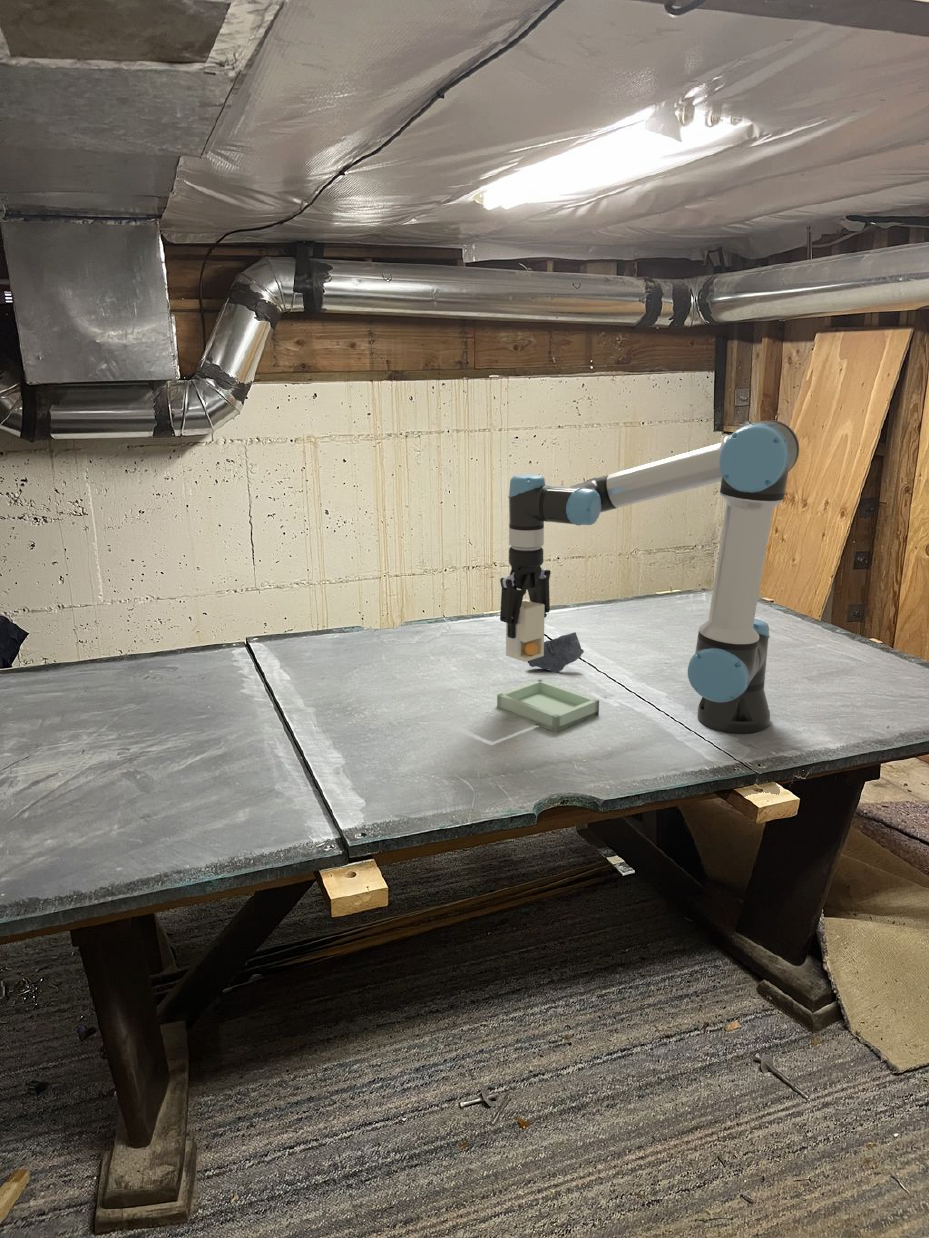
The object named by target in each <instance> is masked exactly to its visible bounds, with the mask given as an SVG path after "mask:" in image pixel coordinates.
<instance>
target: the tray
mask: <svg viewBox="0 0 929 1238" xmlns="http://www.w3.org/2000/svg"><path fill="white" fill-rule="evenodd" d="M496 698H497V699H496V700H497V701H496V707H499V708H500V709H503V710H506V711H509V712H511V713H513V714H516V715H518V716H521V717H524V718H526V719H527V720H531V721H533V722H536V723H535V725H536V726H539V727H541V728H544V729H546V730H549V731H550V732H554V733H559V732H561V731H564V730H565V729H568V728H571V727H573V726H576V725H578V724H580V723H583V722H585V721H588V720H589V719H593V718H594V717H598V716H599V714H600V712H599V711H600V700H599V699H597V698H594V697H591V696H588V695H585V694H582V693H579V692H577V691H573V690H571V689H568V688H565V687H563V686H560V685H556V684H553V683H550V682H548V681H545V680H542V679H537V680H535V681H532V682H530V683H527V684H526V683H525V684H524V685H521V686H518V687H515V688H513V689H510V690H507V691H504V692H501V693H498V694H497V696H496Z"/></svg>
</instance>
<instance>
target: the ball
mask: <svg viewBox="0 0 929 1238" xmlns="http://www.w3.org/2000/svg"><path fill="white" fill-rule="evenodd" d="M524 649H525V652H526V654H528V655H535V654H536V653H537V651H538V646H537V645H536V644H535V643H534V642H529V643H527V644H526V645H525V648H524Z"/></svg>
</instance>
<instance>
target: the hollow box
mask: <svg viewBox="0 0 929 1238" xmlns="http://www.w3.org/2000/svg"><path fill="white" fill-rule="evenodd" d="M544 611H545V605H544V604H541V603H535V602H532V601H530V599H524V598H523V600H522V604H521V608H520V613H519V618H518V622H517V623H518V624H520V652H519V653H516V652H513V651H510V650H509V637H508V636H507V623H505V656H506V657H509V658H512V659H515V660H518V661H522V662H523V663H528V662H527V661H530V660H533V659H536V658H539V657H542V656H544V642H545V618H544ZM512 618H513V617H512ZM529 642H534V643H535V644H536V645H537V646H538V651H537V653H536V654H535V655H528V654H526V652H525V649H524V648H525V645H526V644H527V643H529Z"/></svg>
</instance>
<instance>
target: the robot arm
mask: <svg viewBox="0 0 929 1238" xmlns="http://www.w3.org/2000/svg"><path fill="white" fill-rule="evenodd" d="M799 455H800V442H799V439H798V437H797V434H796V433H795V431H794V430H793V429H792V428H791V427H790V426H789V425H787V424H786V423H784V422H781V421H780V420H779V421H778V420H774V419H765V420H761V421H757V422H755V423H754V422H753V423H748V424H746V425H743V426H741V427H739V428H738V429H737V430H735V431H734V432H733V433H732V434H729V435H726V436H725V437H724V438H723V440H722V442H719V443H715V444H712V445H709V446H704V447H701V448H698V449H695V450H690V451H687V452H684V453H680V454H677V455H674V456H669V457H667V458H662V459H660V460H659V459H658V460H655V461H651V462H648V463H645V464H642V465H638V466H635V467H631V468H628V469H627V468H626V469H623V470H620V471H617V472H614V473H610V474H607V475H602V476H600V477H594V478H589V479H587V480H586V481H583V482H580V483H577V484H574V485H571V486H568V487H567V486H551V485H547V484H546V480H545V477H544V476H543V475H540V474H533V473H526V474H517V475H513V476H512V477H511V478H510V480H509V493H508V499H509V500H508V504H509V505H508V507H509V510H508V512H509V513H508V515H509V516H508V517H509V520H508V521H509V523H508V527H509V528H508V536H509V537H508V545H509V546H510V547H509V548H508V564H509V566H510V567H511V569H510V572H509V575H508V576H507V577H500V579H499V582H500V587H501V596H500V614H499V615H500V616H499V620H500V622H503V623H505V624H506V623H507V636H508V637H509V650H510V651H513V652H516V653H519V652H520V624H518V623H517V622H518V618H519V613H520V608H521V604H522V600H524V595H526V594H527V593H528V598H529V600H530V601H532V602H535V603H541V604H544V605H545V611H544V619H545V618H546V617H547V616H548V613H549V612H550V611H551V609H550V608H551V607H550V606H551V605H550V604H551V603H550V602H551V599H550V578H551V574H552V573H551V572H552V571H551V570H550V569H547V568H543V567H542V565H543V564H544V548H543V546H544V544H545V539H544V538H545V531H544V530H545V525H544V524H545V523H558V524H566V525H567V524H568V525H575V526H579V527H580V526H581V525H582V526H591V525H594V524H595V523H596V522H597V521H598V519H599V517H600V514H601V513H603V512H608V511H612V510H616V509H618V508H622V507H626V506H630V505H635V504H638V503H642V502H646V501H649V500H654V499H658V498H661V497H662V498H663V497H666V496H669V495H673V494H677V493H681V492H686V491H689V490H693V489H697V488H701V487H704V486H708V485H712V484H716V483H720V487H719V489H720V490H719V495H720V496H721V497H722V499H723V500H724V501H725V511H724V516H723V523H722V528H721V529H722V530H721V537H720V543H719V550H718V557H717V563H716V567H715V568H716V569H715V576H714V580H713V587H712V593H711V601H710V608H709V614H708V619H707V620H706V622H704V623H702V624H701V625H700V626H699V627H698V634H697V638H696V646H695V653H694V654H693V655H692V656H691V658H690V660H689V662H688V667H687V679H688V681H689V683H690V686H691V687H692V688H693V689H694V691H695V692H696V693H697V694H698V695H699V696H701V698H700V701H699V704H698V705H697V706H698V707H697V719H698V721H699V722H700V723H701V724H703V725H704V726H706V727H708V728H710V729H711V728H712V729H713V730H717V731H721V732H725V733H734V734H751V733H758V732H761V731H764V730H766V729H767V728H769V726H770V724H771V723H770V722H771V721H770V720H771V713H770V709H769V704H768V700H767V696H766V692H765V681H766V670H767V668H766V667H767V658H768V648H769V646H768V645H769V639H770V638H771V637H770V636H771V635H770V627H769V624H768V623H767V622H766V621H764V620H761V619H758V618H755V617H756V612H757V605H758V600H759V594H760V588H761V583H762V582H761V581H762V577H763V571H764V564H765V559H766V554H767V553H766V552H767V548H768V542H769V536H770V531H771V524H772V519H773V512H774V508H775V507H777V506H778V505H779V504H781V503H782V502H783V501H784V498H785V493H786V489H787V484H788V483H787V482H788V477H789V473H790V471H791V470H792V469H793V468H794V467H795V465H796V464H797V461H798V458H799ZM512 617H513V618H512Z"/></svg>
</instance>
